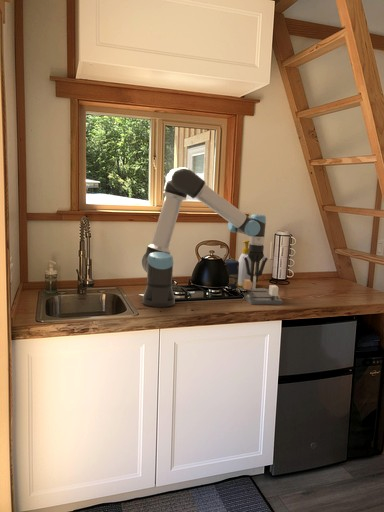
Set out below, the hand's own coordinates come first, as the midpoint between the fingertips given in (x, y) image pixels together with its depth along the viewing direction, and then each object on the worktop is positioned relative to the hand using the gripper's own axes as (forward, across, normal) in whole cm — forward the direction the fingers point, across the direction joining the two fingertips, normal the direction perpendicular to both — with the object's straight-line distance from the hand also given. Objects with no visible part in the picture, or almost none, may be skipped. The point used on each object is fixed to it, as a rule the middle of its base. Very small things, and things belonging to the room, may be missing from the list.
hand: (253, 288), depth 230 cm
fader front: (+2, +7, -13) cm, 15 cm away
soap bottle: (+4, +2, +23) cm, 23 cm away
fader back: (+2, -4, 0) cm, 4 cm away
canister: (+4, -12, +7) cm, 14 cm away
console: (+4, +2, -6) cm, 7 cm away
